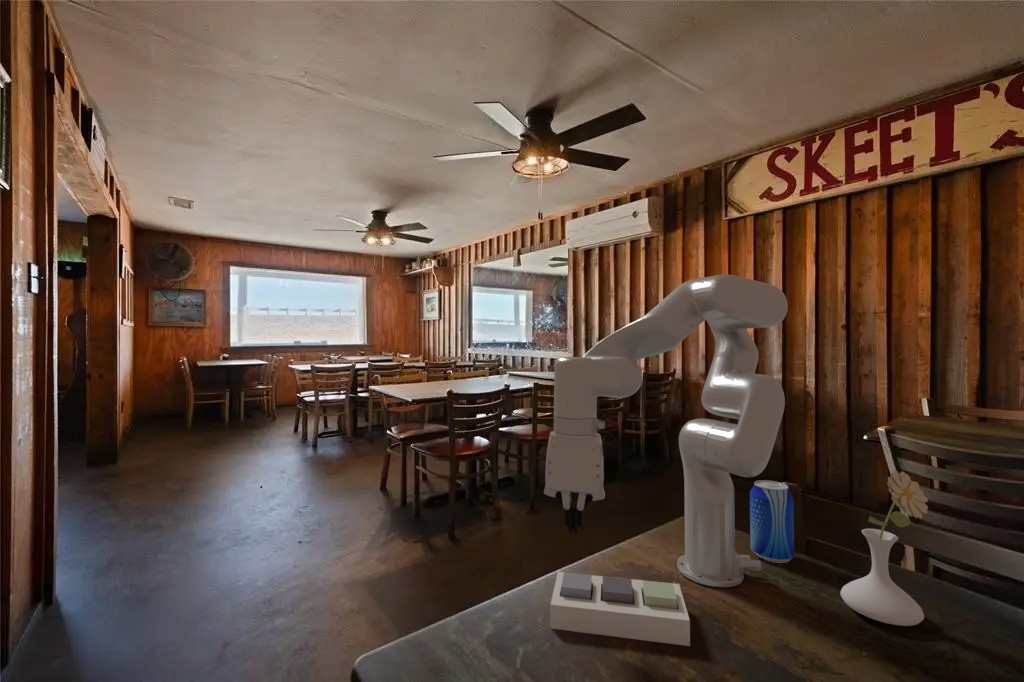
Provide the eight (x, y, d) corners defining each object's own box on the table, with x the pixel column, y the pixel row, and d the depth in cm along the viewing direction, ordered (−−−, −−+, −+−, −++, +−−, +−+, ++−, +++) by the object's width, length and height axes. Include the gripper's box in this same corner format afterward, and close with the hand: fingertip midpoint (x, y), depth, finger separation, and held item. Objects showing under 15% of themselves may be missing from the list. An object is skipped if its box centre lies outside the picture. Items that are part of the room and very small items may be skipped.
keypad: (679, 606, 81) (679, 583, 82) (690, 646, 71) (689, 620, 71) (557, 592, 86) (557, 571, 86) (550, 628, 75) (550, 604, 75)
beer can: (800, 567, 95) (800, 491, 95) (757, 564, 97) (756, 489, 97) (785, 549, 103) (784, 480, 103) (745, 546, 105) (744, 478, 105)
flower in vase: (872, 633, 74) (870, 480, 74) (825, 594, 85) (824, 461, 85) (954, 634, 73) (952, 480, 73) (896, 595, 85) (895, 462, 85)
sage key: (672, 600, 79) (672, 583, 79) (677, 617, 74) (676, 599, 74) (643, 597, 80) (642, 580, 80) (645, 613, 75) (645, 595, 75)
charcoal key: (631, 596, 80) (631, 579, 80) (633, 612, 75) (632, 594, 75) (602, 593, 81) (602, 576, 81) (602, 609, 76) (602, 591, 77)
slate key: (591, 591, 82) (591, 575, 82) (590, 607, 77) (590, 590, 77) (564, 588, 83) (564, 572, 83) (561, 604, 78) (561, 586, 78)
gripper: (617, 425, 82) (616, 526, 82) (536, 421, 85) (535, 518, 85) (618, 432, 75) (617, 543, 74) (529, 427, 78) (528, 534, 78)
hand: (573, 530), depth 80 cm, fingers closed
